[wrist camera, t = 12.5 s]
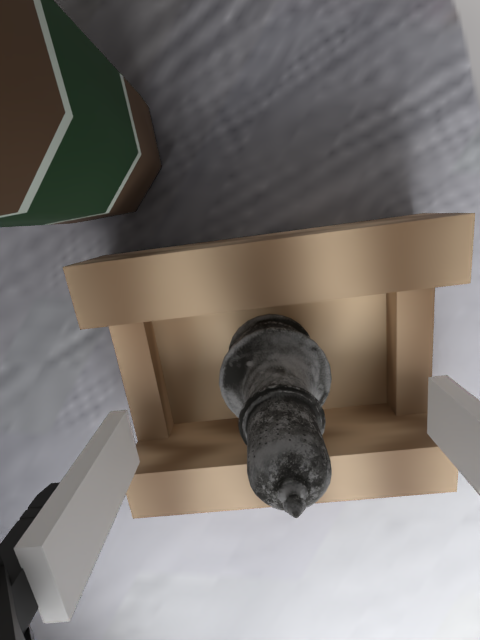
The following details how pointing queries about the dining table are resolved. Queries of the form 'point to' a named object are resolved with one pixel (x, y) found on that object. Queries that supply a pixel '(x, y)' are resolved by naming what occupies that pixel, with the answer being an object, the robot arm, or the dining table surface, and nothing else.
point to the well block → (322, 326)
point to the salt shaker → (280, 409)
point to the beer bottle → (66, 124)
